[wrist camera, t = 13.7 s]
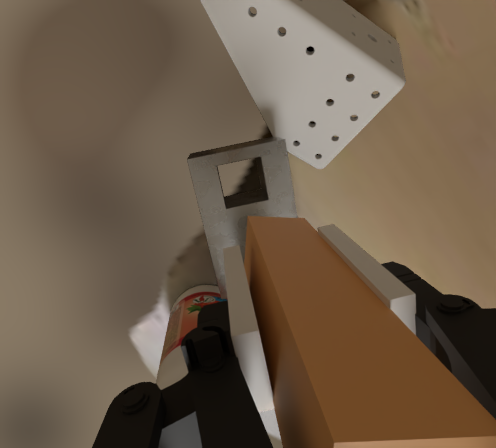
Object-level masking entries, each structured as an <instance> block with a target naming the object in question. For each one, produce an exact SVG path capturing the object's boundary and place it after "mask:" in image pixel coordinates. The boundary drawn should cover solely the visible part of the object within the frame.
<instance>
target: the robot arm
mask: <svg viewBox="0 0 496 448" xmlns="http://www.w3.org/2000/svg"><path fill="white" fill-rule="evenodd" d="M318 234H319V235H320V236H321V237H322V238H323V239H324V240H325V241H326V242H327V243H328V245H329V246H330V247H331V248H332V249H333V250H334V251H335V252H336V253H337V254H338V255H339V256H340V257H341V258H342V259H343V260H344V262H345V263H346V264H347V265H348V266H349V267H350V268H351V269H352V270H353V271H354V272H355V273H356V274H357V275H358V276H359V277H360V279H361V280H362V281H363V282H364V283H365V284H366V285H367V286H368V287H369V288H370V289H371V290H372V291H373V292H374V293H375V294H376V296H377V297H378V298H379V299H380V300H381V301H382V302H383V303H384V304H385V305H386V306H387V307H388V308H389V309H391V310H392V311H393V312H394V313H395V314H396V315H397V316H398V317H399V318H400V319H401V321H402V322H403V323H404V324H405V325H406V326H407V327H408V328H409V329H410V330H411V331H412V332H413V333H414V334H415V335H416V336H417V337H418V338H419V339H420V341H421V342H422V343H423V344H424V345H425V346H426V347H427V348H428V349H429V350H430V351H431V352H432V353H433V354H434V355H435V356H436V357H437V358H438V359H439V361H440V362H441V363H442V364H443V365H444V366H445V367H446V368H447V369H448V370H449V371H450V372H451V373H452V374H453V375H454V376H455V377H456V378H457V380H458V381H459V382H460V383H461V384H462V385H463V386H464V387H465V388H466V389H467V390H468V391H469V392H470V393H471V394H472V395H473V396H474V397H475V398H476V400H477V401H478V402H479V403H480V404H481V405H482V406H483V407H484V408H485V409H486V410H487V411H488V412H489V413H490V414H491V415H492V416H493V417H494V418H495V420H496V308H492V309H482V308H481V307H480V306H479V305H478V304H476V303H475V302H473V301H472V300H470V299H468V298H465V297H462V296H458V295H451V294H448V295H443V294H442V293H440V292H439V291H438V290H436V289H435V288H434V287H432V286H431V285H430V284H429V283H427V282H426V281H425V280H423V279H421V277H419V276H418V275H417V274H414V272H413V271H411V270H410V269H409V268H407V267H406V266H404V265H401V264H398V263H395V262H388V263H384V264H380V263H379V262H377V261H376V260H375V259H374V258H373V257H372V256H370V255H369V254H368V253H367V252H366V251H365V250H363V249H362V248H361V247H360V246H359V245H358V244H356V243H355V242H354V241H353V240H352V239H350V238H349V237H348V236H347V235H346V234H345V233H343V232H342V231H341V230H340V229H339V228H338V227H336V226H335V225H334V224H332V225H327V226H323V227H318ZM223 256H224V267H225V277H226V288H227V298H228V300H226V301H222V302H217V303H213V304H208V305H204V306H203V307H202V309H201V310H200V312H199V313H198V318H197V328H194V329H192V330H191V331H190V332H189V333H187V334H186V335H185V337H184V338H183V339H182V341H181V350H182V353H183V356H184V360H185V363H186V366H187V369H188V374H187V375H186V376H185V377H183V378H182V379H181V380H179V381H178V382H176V383H174V384H172V385H170V386H168V387H166V388H164V389H162V390H161V389H160V388H159V387H158V385H157V384H154V383H152V382H141V383H138V384H135V385H132V386H130V387H128V388H127V389H125V390H123V391H122V392H121V393H120V394H119V395H118V396H116V397H115V398H114V400H113V401H112V403H111V404H110V406H109V408H108V410H107V413H106V415H105V418H104V420H103V423H102V425H101V427H100V430H99V432H98V434H97V437H96V440H95V442H94V444H93V447H92V448H273V446H272V444H271V442H270V439H269V436H268V434H267V432H266V429H265V427H264V424H263V422H262V419H261V417H260V414H259V412H263V411H267V410H271V409H274V404H273V393H272V389H271V384H270V380H269V375H268V370H267V366H266V361H265V357H264V352H263V347H262V343H261V338H260V333H259V329H258V325H257V320H256V316H255V312H254V307H253V303H252V298H251V294H250V290H249V285H248V281H247V277H246V272H245V268H244V264H243V259H242V255H241V250H240V246H239V245H237V246H232V247H228V248H223Z"/></svg>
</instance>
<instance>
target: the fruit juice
mask: <svg viewBox="0 0 496 448" xmlns="http://www.w3.org/2000/svg"><path fill="white" fill-rule="evenodd" d="M226 300H228V298H226V299H221V295H220V291H219V287H218V286H214V285H200V286H196V287H193V288H190V289H188V290H187V291H185V292H184V293H183V294H181V295H180V296H179V298H178V299H177V300H176V301H175V303H174V305H173V307H172V310H171V313H170V317H169V322H168V327H167V332H166V337H165V341H164V346H163V351H162V356H161V361H160V365H159V370H158V374H157V379H156V384H157V385H158V387H159V388H160V389H161V390H162V389H164V388H166V387H168V386H170V385H172V384H174V383H176V382H178V381H179V380H181V379H182V378H183V377H185V376H186V375H187V374H188V369H187V366H186V363H185V360H184V356H183V353H182V350H181V341H182V339H183V338H184V337H185V335H186V334H187V333H189V332H190V331H191V330H192V329H194V328H197V318H198V313H199V312H200V310H201V309H202V307H203V306H204V305H208V304H213V303H217V302H222V301H226Z"/></svg>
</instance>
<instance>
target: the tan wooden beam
mask: <svg viewBox="0 0 496 448" xmlns="http://www.w3.org/2000/svg"><path fill="white" fill-rule="evenodd" d="M244 268H245V272H246V277H247V281H248V285H249V290H250V294H251V298H252V303H253V307H254V312H255V316H256V320H257V325H258V329H259V333H260V338H261V343H262V347H263V352H264V357H265V361H266V366H267V370H268V375H269V380H270V384H271V389H272V393H273V404H274V409H275V413H276V418H277V422H278V427H279V431H280V436H281V440H282V445H283V448H496V420H495V418H494V417H493V416H492V415H491V414H490V413H489V412H488V411H487V410H486V409H485V408H484V407H483V406H482V405H481V404H480V403H479V402H478V401H477V400H476V398H475V397H474V396H473V395H472V394H471V393H470V392H469V391H468V390H467V389H466V388H465V387H464V386H463V385H462V384H461V383H460V382H459V381H458V380H457V378H456V377H455V376H454V375H453V374H452V373H451V372H450V371H449V370H448V369H447V368H446V367H445V366H444V365H443V364H442V363H441V362H440V361H439V359H438V358H437V357H436V356H435V355H434V354H433V353H432V352H431V351H430V350H429V349H428V348H427V347H426V346H425V345H424V344H423V343H422V342H421V341H420V339H419V338H418V337H417V336H416V335H415V334H414V333H413V332H412V331H411V330H410V329H409V328H408V327H407V326H406V325H405V324H404V323H403V322H402V321H401V319H400V318H399V317H398V316H397V315H396V314H395V313H394V312H393V311H392V310H391V309H389V308H388V307H387V306H386V305H385V304H384V303H383V302H382V301H381V300H380V299H379V298H378V297H377V296H376V294H375V293H374V292H373V291H372V290H371V289H370V288H369V287H368V286H367V285H366V284H365V283H364V282H363V281H362V280H361V279H360V277H359V276H358V275H357V274H356V273H355V272H354V271H353V270H352V269H351V268H350V267H349V266H348V265H347V264H346V263H345V262H344V260H343V259H342V258H341V257H340V256H339V255H338V254H337V253H336V252H335V251H334V250H333V249H332V248H331V247H330V246H329V245H328V243H327V242H326V241H325V240H324V239H323V238H322V237H321V236H320V235H319V234H318V232H317V231H316V230H315V229H314V228H313V227H312V226H311V225H310V224H309V223H308V221H307V220H306V219H305V218H289V217H263V216H248V217H247V231H246V245H245V259H244Z"/></svg>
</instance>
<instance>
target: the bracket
mask: <svg viewBox="0 0 496 448" xmlns="http://www.w3.org/2000/svg"><path fill="white" fill-rule="evenodd" d="M201 3H202V5H203V7H204V8H205V10H206V12H207V14H208V16H209V18H210V20H211V21H212V23H213V25H214V27H215V29H216V31H217V33H218V35H219V36H220V38H221V40H222V42H223V44H224V46H225V47H226V49H227V51H228V53H229V55H230V57H231V59H232V61H233V62H234V64H235V66H236V68H237V70H238V72H239V74H240V75H241V77H242V79H243V81H244V83H245V85H246V87H247V89H248V91H249V92H250V94H251V96H252V98H253V100H254V102H255V104H256V106H257V107H258V109H259V111H260V113H261V115H262V117H263V119H264V120H265V122H266V124H267V126H268V128H269V130H270V132H271V134H272V135H273V137H279V138H283V139H285V141H286V148H287V151H288V152H289V153H291V154H293V155H294V156H296V157H298V158H300V159H301V160H303V161H305V162H307V163H308V164H310V165H312V166H313V167H315V168H317V169H323V168H325V167H326V166H327V165H328V163H329V162H330V161H331V160H332V159H333V158H334V157H335V156H336V155H337V154H338V153H339V152H340V151H341V150H342V149H343V148H344V147H345V146H346V145H347V144H348V143H349V142H350V141H351V140H352V139H353V138H354V137H355V136H356V135H357V134H358V133H359V132H360V131H361V130H362V129H363V128H364V127H365V126H366V125H367V124H368V123H369V122H370V121H371V120H372V119H373V118H374V117H375V115H376V114H377V113H378V112H379V111H380V110H381V109H382V108H383V107H384V106H385V105H386V104H387V103H388V102H389V101H390V100H391V99H392V98H393V97H394V96H395V95H396V94H397V93H398V92H399V91H400V90H401V89H402V87H403V86H404V84H405V81H406V80H405V75H404V69H403V64H402V58H401V53H400V47H399V43H398V42H397V40H396V39H394V38H393V37H392V36H391V35H389V34H388V33H386V32H385V31H384V30H382V29H381V28H380V27H378V26H377V25H375V24H374V23H373V22H371V21H370V20H369V19H367V18H366V17H365V16H363V15H362V14H360V13H359V12H358V11H356V10H355V9H354V8H352V7H351V6H350V5H348V4H347V3H345V2H344V1H343V0H201ZM250 7H254V8H256V10H257V13H256V14H252V13H251V12H250ZM280 27H284V28H285V29H286V33H281V32H280V31H279V28H280ZM309 46H312V47H313V48H314V51H312V52H309V51H308V50H307V47H309ZM348 74H353V75H354V76H353V77H352V78H348V77H347V75H348ZM374 91H378V92H379V93H378V94H376V95H373V94H372V92H374ZM328 99H332V100H333V102H328V101H327V100H328ZM354 114H355V115H357V117H351V115H354ZM310 121H314V122H315V123H314V124H311V123H310ZM334 135H337V136H338V137H336V138H335V137H333V136H334ZM295 141H299V142H298V143H296V142H295ZM316 154H321V155H316Z"/></svg>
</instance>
